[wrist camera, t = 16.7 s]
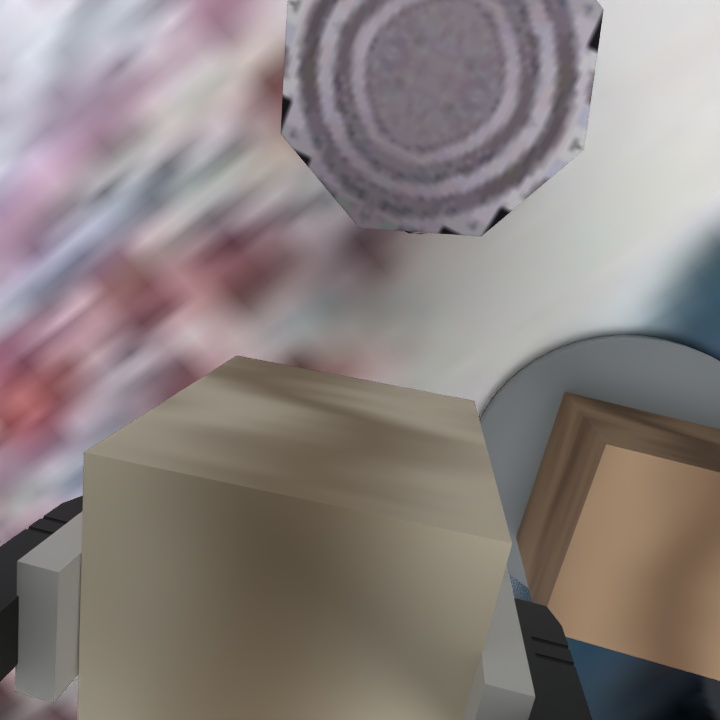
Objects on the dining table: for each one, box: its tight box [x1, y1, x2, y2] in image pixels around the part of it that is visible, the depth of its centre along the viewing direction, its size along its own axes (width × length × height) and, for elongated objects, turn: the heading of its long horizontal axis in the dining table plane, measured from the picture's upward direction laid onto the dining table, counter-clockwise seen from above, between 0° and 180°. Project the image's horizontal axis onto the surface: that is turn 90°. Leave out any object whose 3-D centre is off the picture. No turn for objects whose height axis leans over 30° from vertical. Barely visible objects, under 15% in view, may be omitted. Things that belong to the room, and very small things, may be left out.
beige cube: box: [78, 356, 512, 720], centre depth 12 cm, size 7×7×7 cm
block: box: [516, 392, 720, 681], centre depth 27 cm, size 10×10×8 cm
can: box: [281, 0, 603, 236], centre depth 24 cm, size 11×11×12 cm
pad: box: [480, 335, 720, 588], centre depth 32 cm, size 18×18×2 cm
